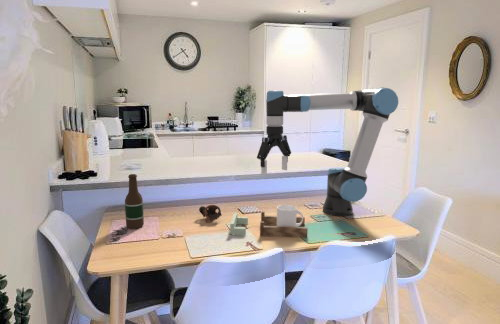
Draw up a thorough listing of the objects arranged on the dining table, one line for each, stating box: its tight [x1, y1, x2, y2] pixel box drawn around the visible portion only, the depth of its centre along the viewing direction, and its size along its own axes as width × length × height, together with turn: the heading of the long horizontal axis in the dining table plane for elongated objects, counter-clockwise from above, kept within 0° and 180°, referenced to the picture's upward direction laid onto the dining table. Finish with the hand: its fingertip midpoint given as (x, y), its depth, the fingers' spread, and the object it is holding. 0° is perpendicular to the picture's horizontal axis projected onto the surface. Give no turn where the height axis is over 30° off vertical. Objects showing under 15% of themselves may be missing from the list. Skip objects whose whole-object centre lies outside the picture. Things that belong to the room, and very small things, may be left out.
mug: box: [276, 204, 304, 227], centre depth 158 cm, size 9×12×11 cm
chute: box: [259, 210, 309, 238], centre depth 159 cm, size 20×15×6 cm
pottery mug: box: [198, 204, 222, 223], centre depth 172 cm, size 12×10×8 cm
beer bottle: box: [124, 173, 145, 230], centre depth 160 cm, size 8×8×24 cm
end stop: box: [229, 212, 249, 236], centre depth 160 cm, size 6×15×5 cm, turn 176°
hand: (274, 171), depth 164 cm, fingers open, 13 cm apart
